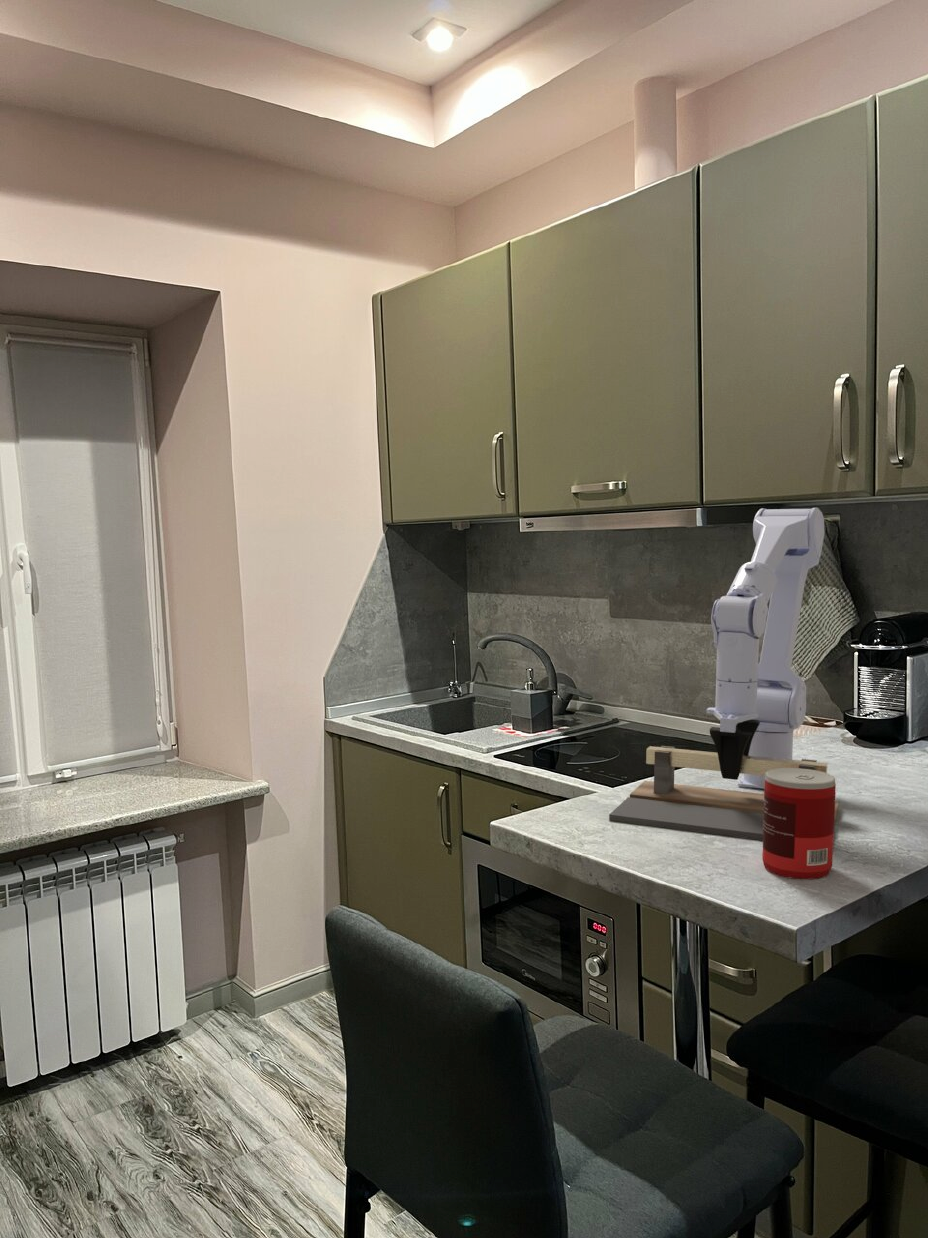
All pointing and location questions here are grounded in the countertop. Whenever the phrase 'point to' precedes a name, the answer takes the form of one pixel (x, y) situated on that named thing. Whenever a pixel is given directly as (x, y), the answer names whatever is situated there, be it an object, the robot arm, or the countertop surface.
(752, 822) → the mat
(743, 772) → the rail
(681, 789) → the rack
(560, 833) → the countertop surface
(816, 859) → the canned food
